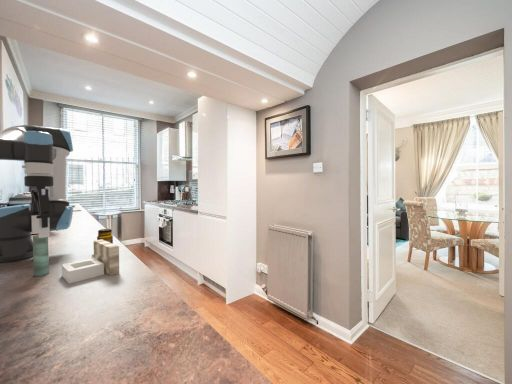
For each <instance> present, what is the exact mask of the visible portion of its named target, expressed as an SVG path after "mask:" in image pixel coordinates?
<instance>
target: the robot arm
mask: <svg viewBox="0 0 512 384" xmlns="http://www.w3.org/2000/svg"><path fill="white" fill-rule="evenodd" d="M71 152H74V146H73V142H72V136H71V132H70V130H68V129H66V128H65V129H64V128H60V127H49V126H41V125H32V124H23V125H15V126H10V127H6V128H5V129H3V130H2V132H1V133H0V161H2V160H3V161H17V162H18V161H19V162H23V163H24V164H23V165H21V168H22V169H24V174H25V176H24V177H23V178H24V186H25V187H33V188H32V189H31V190H30V195H31V197H30V198H31V200H30V203H27V204H26V203H25V204H17V205H11V206H10V205H9V206H4V207H3V206H2V207H0V263H8V262H15V261H20V260H25V259H29V258H33V238H32V234H36V233H38V235H39V238H42V237H48V238H49V237H50V236H51V234H50V233H51V232H52V231H57V232H58V231H62V230H67V229H70V227H71V225H72V224H71V223H72V219H73V214H74V207H73V205H71V204H70V201H69V200H67V199H66V198H67V197H66V194H67V193H66V191H67V190H66V189H67V188H66V187H67V184H66V182H67V180H66V179H67V178H66V176H67V174H66V173H67V157H69V155H70V154H71Z"/></svg>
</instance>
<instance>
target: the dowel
mask: <svg viewBox="0 0 512 384" xmlns="http://www.w3.org/2000/svg"><path fill="white" fill-rule="evenodd" d="M32 241H33V256H32V258H33V259H32V261H33V277H42V276H46V275H48V274H49V273H50V265H49V264H50V263H49V261H50V260H49V237H42V238H39V234H37V235H33V236H32Z"/></svg>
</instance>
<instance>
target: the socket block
mask: <svg viewBox="0 0 512 384" xmlns="http://www.w3.org/2000/svg"><path fill="white" fill-rule="evenodd" d="M104 275H105V272H104V263H102V262H100V261H99V260H97V259H96V258H93V259H91V258H88V259H83V260H78V261H73V262H69V263H63V264H61V277H62V278H63V279H64V280H65V281H66V282H67V283H68V284H73V283H77V282H80V281H85V280H89V279H92V278H96V277H99V276H104Z"/></svg>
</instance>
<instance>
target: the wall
mask: <svg viewBox="0 0 512 384" xmlns="http://www.w3.org/2000/svg"><path fill="white" fill-rule="evenodd" d="M93 254H94V258H96V259H97V260H99V261H100V262H102V263H104V274H107V275H108V276H111V277H112V276H113V275H114V276H115V275H117V274H120V246H119V245H117V244H115V243H114V242H113V243H110V242H108V241H105V240H102V239H101V240H97V239H96V240H93Z"/></svg>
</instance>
